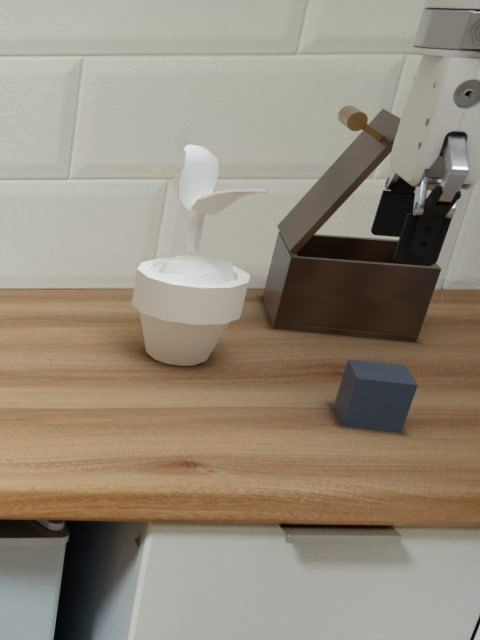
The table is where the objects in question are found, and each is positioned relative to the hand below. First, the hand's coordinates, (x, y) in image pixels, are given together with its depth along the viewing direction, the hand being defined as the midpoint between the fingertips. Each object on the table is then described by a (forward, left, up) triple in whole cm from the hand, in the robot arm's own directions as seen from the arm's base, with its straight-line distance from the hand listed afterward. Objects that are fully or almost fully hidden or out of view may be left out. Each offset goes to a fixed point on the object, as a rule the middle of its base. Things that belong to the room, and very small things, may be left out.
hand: (400, 248), depth 80 cm
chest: (-3, -29, -16) cm, 34 cm away
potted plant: (+16, -9, -16) cm, 25 cm away
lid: (0, -29, 0) cm, 29 cm away
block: (-1, +2, -16) cm, 16 cm away
